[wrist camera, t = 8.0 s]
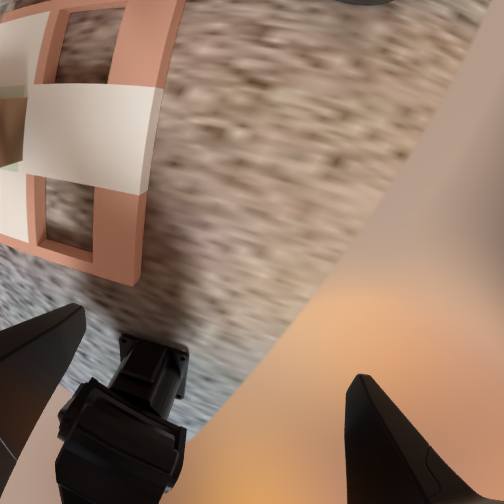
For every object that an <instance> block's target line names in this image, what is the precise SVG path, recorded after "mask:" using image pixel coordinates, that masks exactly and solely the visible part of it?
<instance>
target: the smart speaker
mask: <svg viewBox="0 0 504 504" xmlns="http://www.w3.org/2000/svg"><path fill="white" fill-rule="evenodd" d="M336 1H339V2H343V3H348V4H354V5H364V6H371V5H380V4H385V3H388V2H391V1H393V0H336Z"/></svg>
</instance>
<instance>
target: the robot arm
mask: <svg viewBox="0 0 504 504" xmlns="http://www.w3.org/2000/svg"><path fill="white" fill-rule="evenodd" d="M85 331H86V318H85V309H84V307H83V306H81V305H78V304H76V303H71V304H68V305H66V306H63V307H60V308H58V309H55V310H53V311H50V312H47V313H45V314H42V315H40V316H37V317H35V318H32V319H29V320H27V321H24V322H22V323H19V324H17V325H14V326H12V327H9V328H7V329H4V330H1V331H0V497H1V495H2V493H3V491H4V488H5V486H6V484H7V482H8V479H9V477H10V475H11V473H12V471H13V469H14V467H15V465H16V462H17V460H18V458H19V456H20V454H21V452H22V450H23V448H24V446H25V444H26V442H27V440H28V438H29V436H30V434H31V432H32V430H33V429H34V426H35V425H36V423H37V421H38V419H39V417H40V416H41V414H42V412H43V410H44V408H45V407H46V405H47V403H48V401H49V400H50V398H51V396H52V394H53V393H54V391H55V389H56V387H57V385H58V384H59V382H60V381H61V379H62V377H63V376H64V374H65V372H66V371H67V369H68V367H69V365H70V363H71V361H72V359H73V357H74V354H75V352H76V350H77V348H78V346H79V344H80V342H81V340H82V338H83V336H84V334H85ZM124 339H125V340H124ZM119 344H120V359H121V364H120V365H119V367H118V369H117V371H116V372H115V374H114V376H113V378H112V379H111V381H110V383H109V385H108V387H106V386H104V385H103V384H101V383H99V382H98V380H96V379H95V378H93V377H92V378H91V380H90V381H89V382H88V383H87V382H86V383H81V384H80V386H79V387H78V389H77V390H76V392H75V394H74V395H73V396H72V398H71V399H70V400H69V401H68V402H67V403H66V404H65V405H64V407H63V408H62V409H61V410H60V412H59V413H58V419H59V422H60V426H59V429H60V430H59V433H58V436H57V437H58V438H59V439H60V440H62V441H63V442H64V444H63V446H62V448H61V450H60V452H59V455H58V457H57V459H56V461H55V472H56V481H57V483H58V485H59V491H60V496H61V501H62V504H158V503H159V501H160V499H161V497H162V495H163V493H168V492H169V491H170V490H171V489H172V488H173V486H174V485H175V483H176V481H177V479H178V477H179V475H180V472H181V470H182V466H183V459H184V450H185V441H186V432H187V429H186V428H184V427H182V426H180V427H179V426H177V425H175V424H173V423H171V422H169V421H167V419H168V416H169V413H170V410H171V408H172V405H173V402H174V399H175V398H176V399H183V397H184V394H185V385H186V377H187V369H188V362H189V355H188V354H187V353H186V352H183V351H179V350H176V349H172V348H169V347H165V346H162V345H158V344H155V343H152V342H148V341H145V340H142V339H139V338H136V337H132V336H129V335H126V334H122V335H121V337H120V338H119ZM183 357H184V358H183ZM344 440H345V457H346V478H347V504H504V501H500V500H493V499H488V498H485V497H482V496H480V495H479V494H477V493H476V492H475V491H473V489H471V487H469V486H468V485H467V484H466V483H465V482H464V481H463V480H462V479H461V478H460V477H459V476H458V475H457V474H456V473H455V472H454V471H453V470H452V469H451V468H450V467H449V466H448V465H447V464H446V463H445V462H444V461H443V460H442V459H441V458H440V456H439V455H438V454H437V453H436V452H435V451H434V449H433V448H432V447H431V446H429V444H428V442H427V441H426V440H425V439H424V438H423V437H422V435H421V434H420V433H419V432H418V431H417V430H416V428H415V427H414V426H413V425H412V424H411V422H410V421H409V420H408V419H407V418H406V417H405V416H404V414H403V413H402V412H401V411H400V410H399V408H398V407H397V406H396V405H395V404H394V403H393V402H392V400H391V399H390V398H389V397H388V396H387V395H386V393H385V392H384V391H383V390H382V389H381V388H380V386H379V385H378V384H377V383H376V382H375V380H374V379H373V378H372V377H371V376H370V375H365V374H358V375H356V377H355V378H354V380H353V382H352V383H351V385H350V387H349V388H348V390H347V393H346V406H345V429H344Z"/></svg>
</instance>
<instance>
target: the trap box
mask: <svg viewBox="0 0 504 504" xmlns="http://www.w3.org/2000/svg"><path fill="white" fill-rule="evenodd" d="M185 2H186V0H50V1H46V2H42V3H38V4H34V5H30V6H26V7H23V8H19V9H16V10H13V11H10V12H7V13H4V14H3V16H2V20H1V23H0V99H2V98H28V101H27V109H26V118H25V128H24V141H23V161H20V162H17V163H14V164H10V165H7V166H4V167H1V168H0V243H2V244H5V245H7V246H10V247H13V248H16V249H18V250H21V251H24V252H27V253H29V254H32V255H35V256H38V257H41V258H44V259H47V260H49V261H52V262H55V263H58V264H61V265H64V266H67V267H70V268H73V269H77V270H80V271H83V272H86V273H89V274H92V275H95V276H99V277H102V278H105V279H108V280H112V281H115V282H118V283H122V284H125V285H128V286H132V287H133V286H134V285H135V284H136V283H137V281H138V280H139V279H140V278H141V262H142V247H143V234H144V222H145V212H146V202H147V193H148V185H149V177H150V169H151V162H152V155H153V148H154V142H155V135H156V129H157V123H158V118H159V112H160V107H161V101H162V96H163V91H164V86H165V82H166V77H167V72H168V68H169V63H170V59H171V55H172V51H173V47H174V43H175V39H176V35H177V31H178V27H179V23H180V20H181V16H182V13H183V9H184V6H185ZM122 7H126V8H125V11H124V15H123V18H122V22H121V26H120V29H119V33H118V37H117V41H116V45H115V49H114V54H113V58H112V63H111V67H110V72H109V77H108V83H107V84H83V83H66V84H55V79H56V73H57V68H58V63H59V58H60V53H61V49H62V44H63V40H64V36H65V32H66V28H67V25H68V21H69V17H70V14H71V13H74V12H81V11H89V10H98V9H108V8H122ZM46 177H47V178H53V179H58V180H64V181H69V182H74V183H79V184H84V185H90V186H95V189H94V210H93V253H92V252H89V251H85V250H82V249H78V248H75V247H72V246H68V245H65V244H62V243H58V242H55V241H52V240H48V239H47V232H46Z"/></svg>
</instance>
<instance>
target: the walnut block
mask: <svg viewBox="0 0 504 504" xmlns="http://www.w3.org/2000/svg"><path fill="white" fill-rule="evenodd" d="M27 101H28V98H2V99H0V168H1V167H4V166H7V165H10V164H14V163H17V162H20V161H23V141H24V128H25V118H26V109H27Z"/></svg>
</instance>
